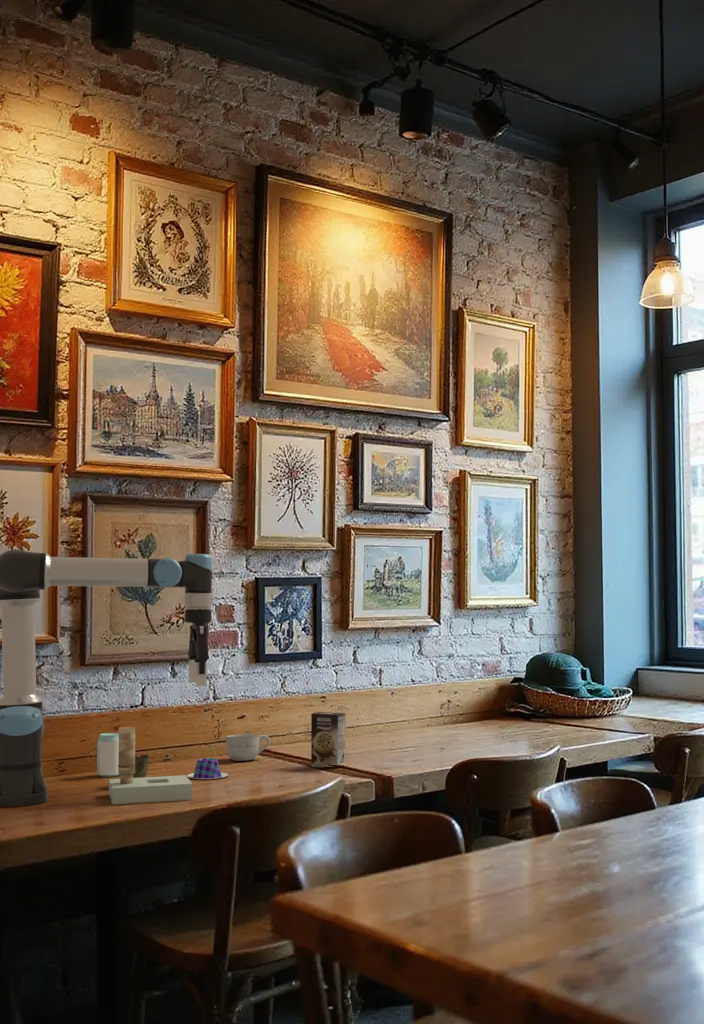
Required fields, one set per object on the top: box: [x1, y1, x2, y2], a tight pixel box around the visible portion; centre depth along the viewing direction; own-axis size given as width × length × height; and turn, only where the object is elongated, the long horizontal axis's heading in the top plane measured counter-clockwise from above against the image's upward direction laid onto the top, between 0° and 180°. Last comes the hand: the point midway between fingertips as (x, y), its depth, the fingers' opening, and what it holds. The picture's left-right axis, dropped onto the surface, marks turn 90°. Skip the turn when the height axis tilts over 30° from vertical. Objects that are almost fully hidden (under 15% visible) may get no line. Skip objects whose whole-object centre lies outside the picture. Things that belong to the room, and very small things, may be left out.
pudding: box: [186, 757, 229, 780], centre depth 307 cm, size 12×12×5 cm
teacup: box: [225, 733, 271, 762], centre depth 339 cm, size 14×11×8 cm
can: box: [96, 732, 120, 778], centre depth 311 cm, size 7×7×12 cm
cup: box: [133, 753, 150, 778], centre depth 295 cm, size 8×7×8 cm
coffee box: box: [310, 711, 346, 768], centre depth 325 cm, size 9×6×16 cm
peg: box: [118, 726, 136, 784], centre depth 275 cm, size 4×4×14 cm
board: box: [108, 774, 193, 805], centre depth 276 cm, size 20×14×4 cm
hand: (197, 684), depth 299 cm, fingers open, 13 cm apart
